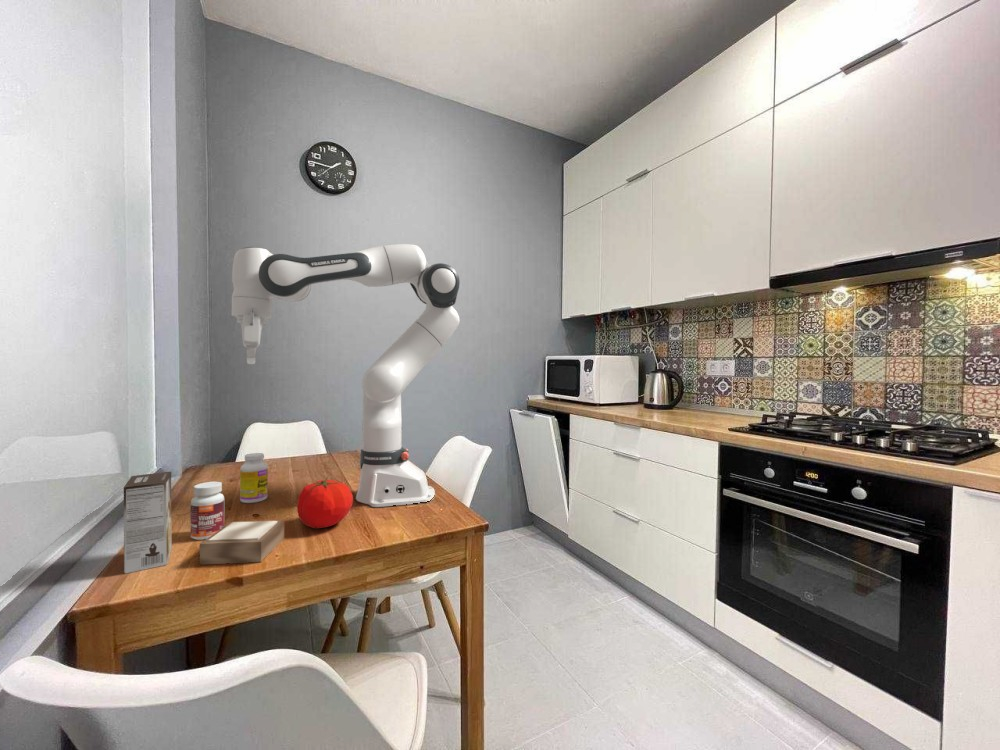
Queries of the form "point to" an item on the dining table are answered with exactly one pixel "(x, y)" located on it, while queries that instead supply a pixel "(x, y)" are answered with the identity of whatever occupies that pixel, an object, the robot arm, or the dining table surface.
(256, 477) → the supplement bottle
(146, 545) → the coffee box
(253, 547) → the base
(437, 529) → the dining table surface
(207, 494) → the pill bottle
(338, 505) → the tomato
